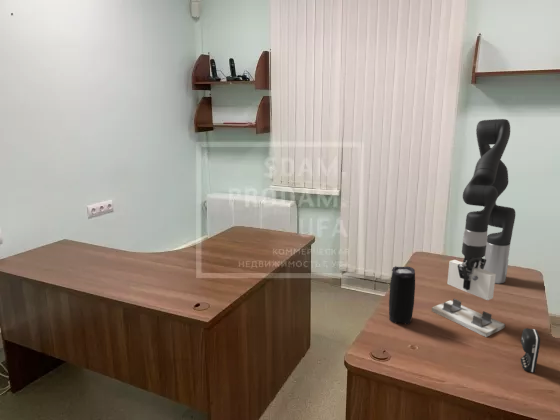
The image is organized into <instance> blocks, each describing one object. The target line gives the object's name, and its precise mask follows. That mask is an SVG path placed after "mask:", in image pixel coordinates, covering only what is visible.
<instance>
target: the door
mask: <svg viewBox="0 0 560 420" xmlns="http://www.w3.org/2000/svg"><path fill="white" fill-rule="evenodd" d="M462 263H463V261H459V260H457V259H453V260H449V263H448V271H447V272H448V273H447V283H446V284H447V285H449V286H451V287H454V288H456V289H458V290H461V291H463V292H466V293H468V294H471V295H473V296H476V297H478V298H480V299H483V300H485V301H490V300H492V299H493V298H494V292H495V286H496V285H495V284H496V283H495V278H496V274H495V273H492V272H489V271H486V270H483V269H480V268H475V269H474V271H473V274H472V276H471V283H470V289H469V290H466V289H464V288H463V283H464V279H462V278H460V276H459V271H458V264H460V265H461V264H462ZM466 270H467V269H466ZM467 271H470V270H467ZM467 275H469V274H468V273H467Z"/></svg>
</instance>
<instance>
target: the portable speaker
mask: <svg viewBox="0 0 560 420" xmlns="http://www.w3.org/2000/svg"><path fill="white" fill-rule="evenodd" d="M391 271H392V272H391V278H390V283H389V295H388V296H389V299H388V316H389V318H388V319H389V321H390V322H392V323H393V324H396V323H403V324H404V325H409V324H411V322H412V318H413V313H414V306H415V294H416V270H415V268H414V267H412V266H396V265H395V266H394V267H392V270H391Z"/></svg>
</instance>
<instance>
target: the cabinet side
mask: <svg viewBox="0 0 560 420" xmlns="http://www.w3.org/2000/svg"><path fill="white" fill-rule="evenodd" d="M431 312H433V313H435V314H437V315H439V316H441V317H443V318H446V319H447V320H449V321H452V322H453V323H456V324H458V325H460V326H463V328H466V329H469V330H470V331H472V332H474V333H475V334H479V335H480V336H483V337H485V338H487V337H489V336H492V335H493V334H495V333H497V332H500V331H501V330H503V329H505V326H506V323H503V322H501V321H499V320H497V319H494V318H493V316H492V314H491V313H489V312H486V311H482V313H480V312H478V311H476V310H474V309H471V308H470V307H467V306H465V305H462V301H461V300H460V299H459V300H458V299H456V298H453V300H451V299H450V300H448V301H445V302H442V303H439V304H437V305H434V306H432V307H431Z"/></svg>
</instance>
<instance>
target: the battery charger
mask: <svg viewBox="0 0 560 420" xmlns="http://www.w3.org/2000/svg"><path fill="white" fill-rule="evenodd" d="M520 343H521V347H522V350H523V352H524V355H523V356H521V358H520V363H521V366H522V370H524V372H525V371H526V372H530V373H533V374H534V373H536V368H537V363H538V357H539V353H540V345H541V337H540V334H539V332H538V330H537V329H534V328H528V327H527V328H526V327H525V328H524V329H522V332H521V338H520Z"/></svg>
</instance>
